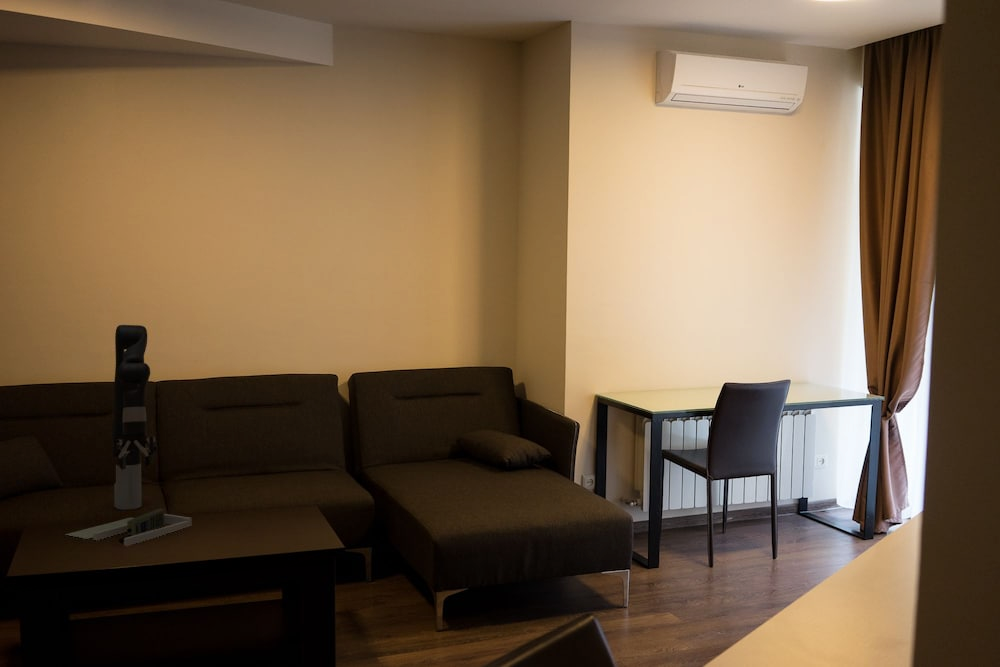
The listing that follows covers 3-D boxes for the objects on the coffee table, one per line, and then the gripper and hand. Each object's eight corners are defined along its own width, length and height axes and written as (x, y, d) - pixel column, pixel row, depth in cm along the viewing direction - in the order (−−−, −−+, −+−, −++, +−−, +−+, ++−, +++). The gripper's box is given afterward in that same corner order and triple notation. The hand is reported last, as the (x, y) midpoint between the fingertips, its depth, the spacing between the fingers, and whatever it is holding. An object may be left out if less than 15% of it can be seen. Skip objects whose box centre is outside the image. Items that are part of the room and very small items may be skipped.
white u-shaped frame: (93, 540, 308) (93, 530, 308) (158, 522, 334) (158, 512, 334) (127, 546, 301) (127, 535, 301) (191, 527, 327) (191, 517, 327)
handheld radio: (166, 526, 329) (125, 544, 304) (158, 526, 330) (116, 544, 305) (165, 508, 329) (124, 524, 304) (157, 508, 329) (115, 524, 305)
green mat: (64, 535, 314) (64, 534, 314) (130, 518, 339) (130, 517, 339) (87, 539, 309) (87, 538, 309) (151, 522, 334) (151, 520, 334)
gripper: (159, 419, 315) (160, 467, 313) (119, 422, 316) (120, 469, 314) (149, 419, 308) (150, 467, 306) (109, 422, 309) (109, 470, 307)
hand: (135, 468), depth 310 cm, fingers open, 8 cm apart
